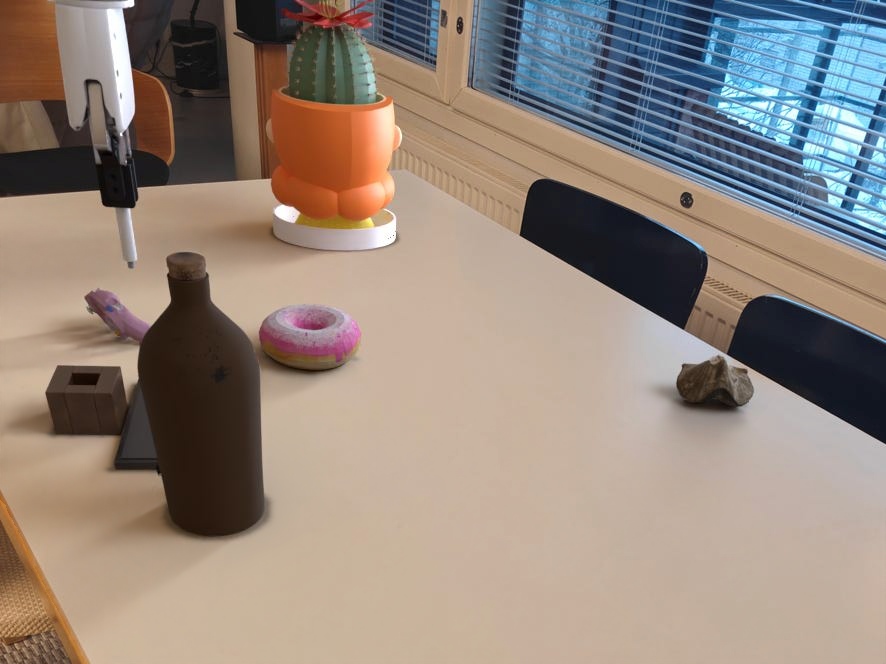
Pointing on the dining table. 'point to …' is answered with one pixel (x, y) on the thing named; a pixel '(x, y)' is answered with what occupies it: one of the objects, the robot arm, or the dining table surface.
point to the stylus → (126, 236)
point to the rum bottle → (203, 407)
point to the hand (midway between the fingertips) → (120, 202)
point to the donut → (310, 336)
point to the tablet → (136, 438)
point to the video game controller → (116, 315)
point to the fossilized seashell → (715, 382)
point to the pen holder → (87, 399)
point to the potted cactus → (332, 138)
